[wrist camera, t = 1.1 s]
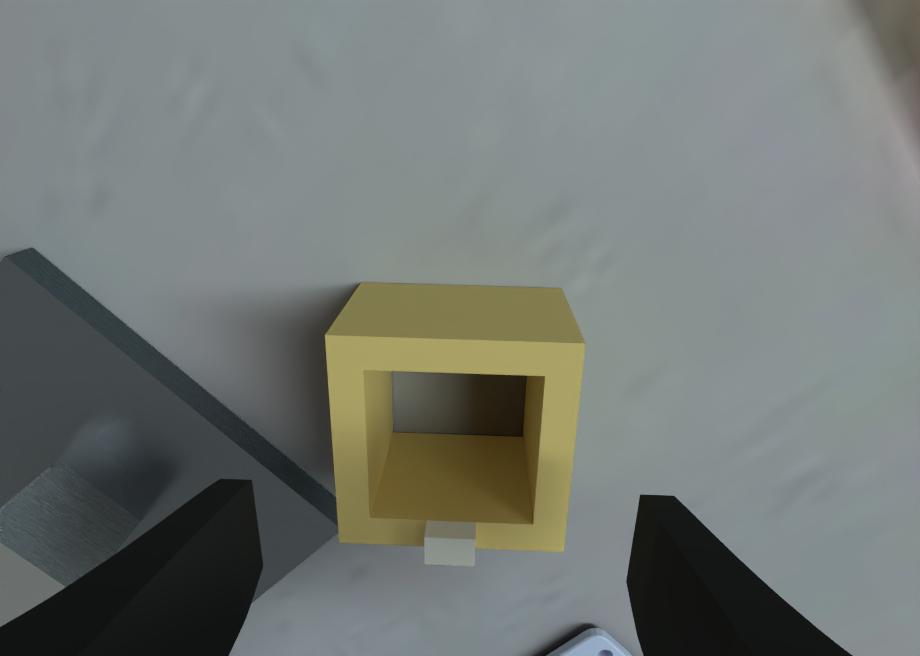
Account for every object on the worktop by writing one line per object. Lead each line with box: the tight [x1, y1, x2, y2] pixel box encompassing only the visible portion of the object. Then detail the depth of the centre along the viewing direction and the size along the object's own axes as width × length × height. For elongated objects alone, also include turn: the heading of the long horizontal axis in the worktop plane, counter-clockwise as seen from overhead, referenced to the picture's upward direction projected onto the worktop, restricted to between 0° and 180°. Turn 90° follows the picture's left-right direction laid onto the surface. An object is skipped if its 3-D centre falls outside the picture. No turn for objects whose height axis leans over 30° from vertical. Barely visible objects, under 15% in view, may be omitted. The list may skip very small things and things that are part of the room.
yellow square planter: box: [325, 282, 586, 566], centre depth 15 cm, size 6×6×5 cm
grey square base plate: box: [0, 248, 338, 627], centre depth 17 cm, size 12×12×4 cm
